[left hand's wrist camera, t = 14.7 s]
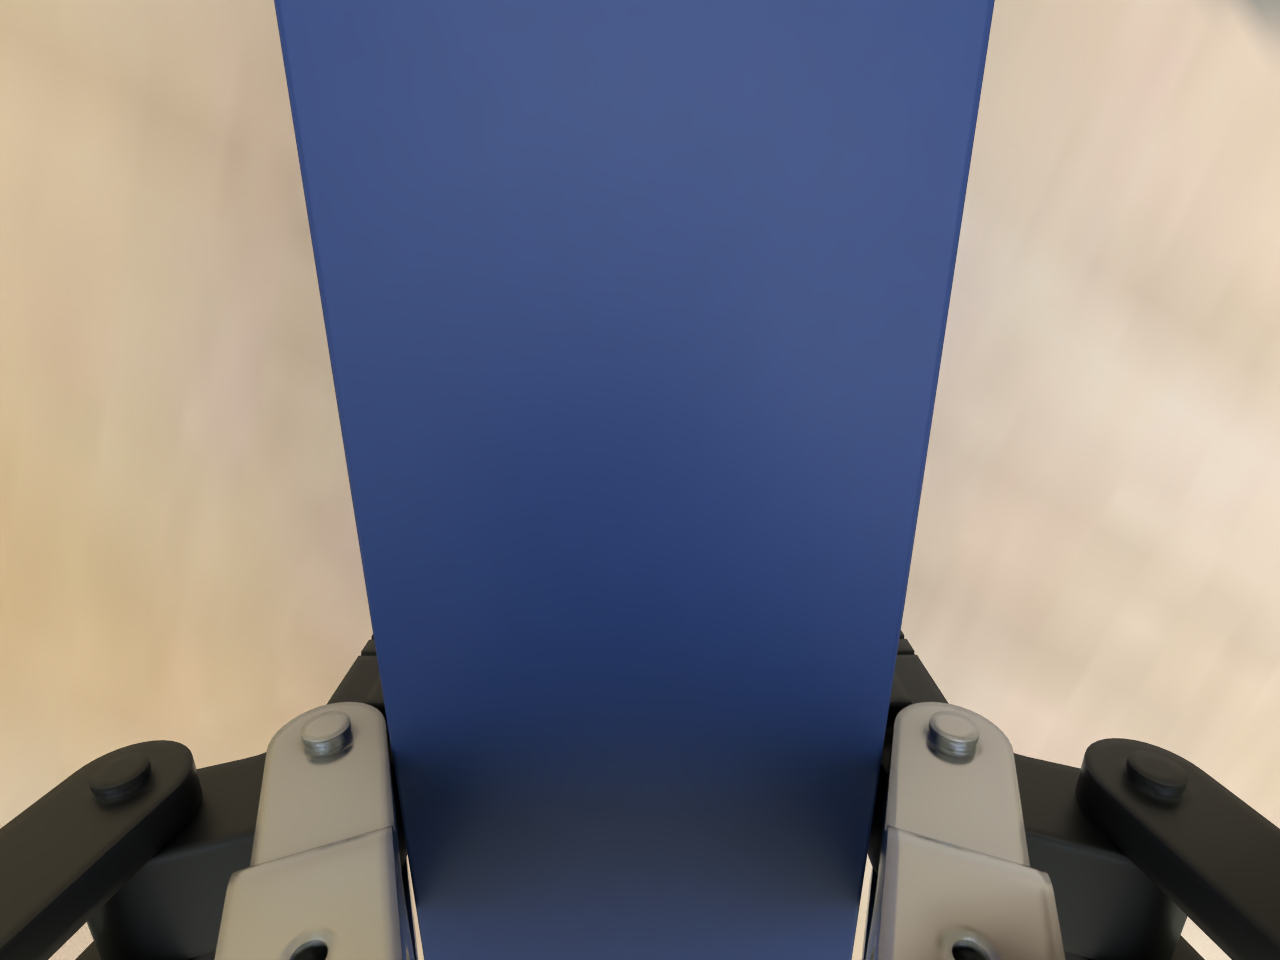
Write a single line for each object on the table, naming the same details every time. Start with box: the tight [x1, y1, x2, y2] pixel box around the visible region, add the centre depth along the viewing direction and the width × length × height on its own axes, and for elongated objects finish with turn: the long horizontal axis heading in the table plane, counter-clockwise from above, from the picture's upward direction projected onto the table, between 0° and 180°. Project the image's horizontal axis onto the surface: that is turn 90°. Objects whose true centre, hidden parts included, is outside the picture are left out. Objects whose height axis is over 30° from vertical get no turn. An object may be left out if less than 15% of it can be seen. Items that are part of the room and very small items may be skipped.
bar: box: [274, 0, 994, 960], centre depth 9 cm, size 24×5×8 cm, turn 0°
